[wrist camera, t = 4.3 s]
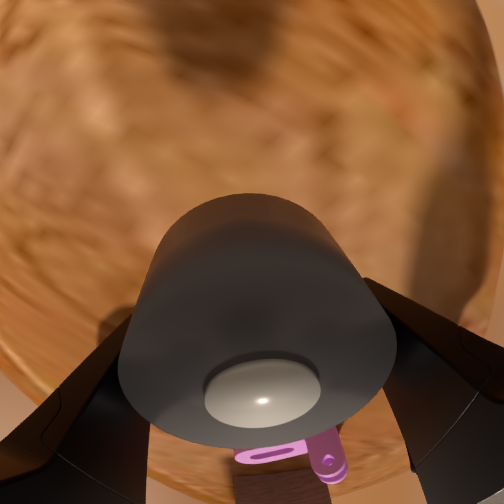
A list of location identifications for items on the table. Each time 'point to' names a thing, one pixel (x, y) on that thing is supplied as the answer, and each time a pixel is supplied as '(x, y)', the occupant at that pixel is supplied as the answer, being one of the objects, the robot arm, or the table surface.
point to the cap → (253, 328)
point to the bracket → (318, 447)
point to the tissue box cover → (282, 488)
